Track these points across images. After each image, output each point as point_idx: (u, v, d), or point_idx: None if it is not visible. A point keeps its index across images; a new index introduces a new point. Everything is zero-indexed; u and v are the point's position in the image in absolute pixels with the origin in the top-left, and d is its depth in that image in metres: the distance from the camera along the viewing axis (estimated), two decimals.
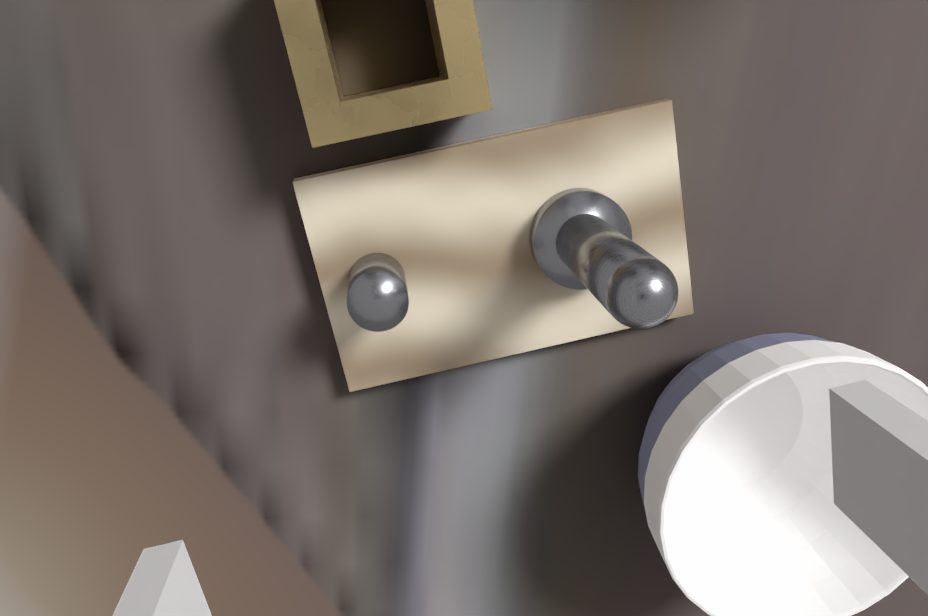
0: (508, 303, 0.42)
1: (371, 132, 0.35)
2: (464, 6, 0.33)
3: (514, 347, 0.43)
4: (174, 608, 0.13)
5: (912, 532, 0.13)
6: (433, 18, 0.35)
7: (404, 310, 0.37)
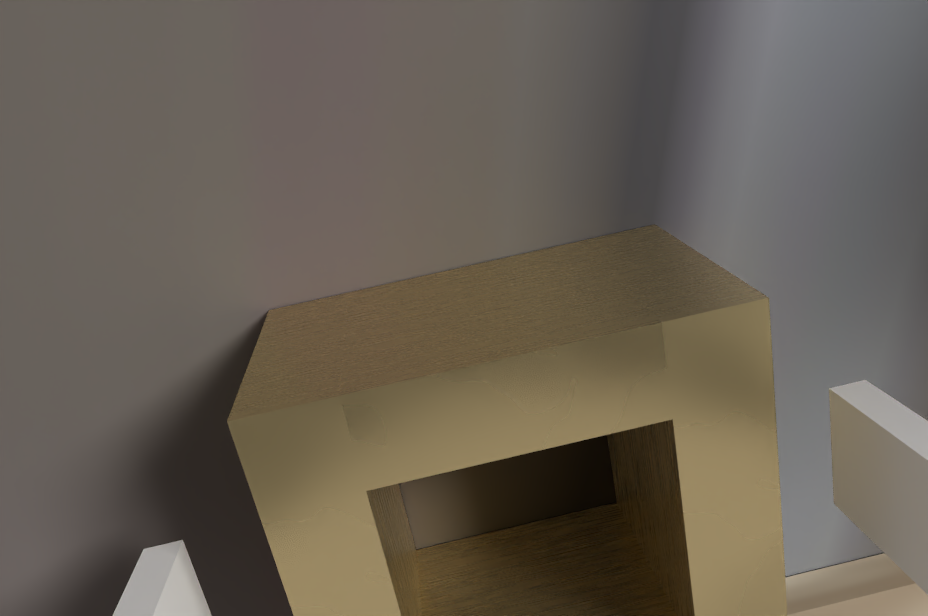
0: None
1: None
2: (756, 510, 0.13)
3: None
4: (174, 608, 0.13)
5: (912, 532, 0.13)
6: (649, 480, 0.15)
7: None
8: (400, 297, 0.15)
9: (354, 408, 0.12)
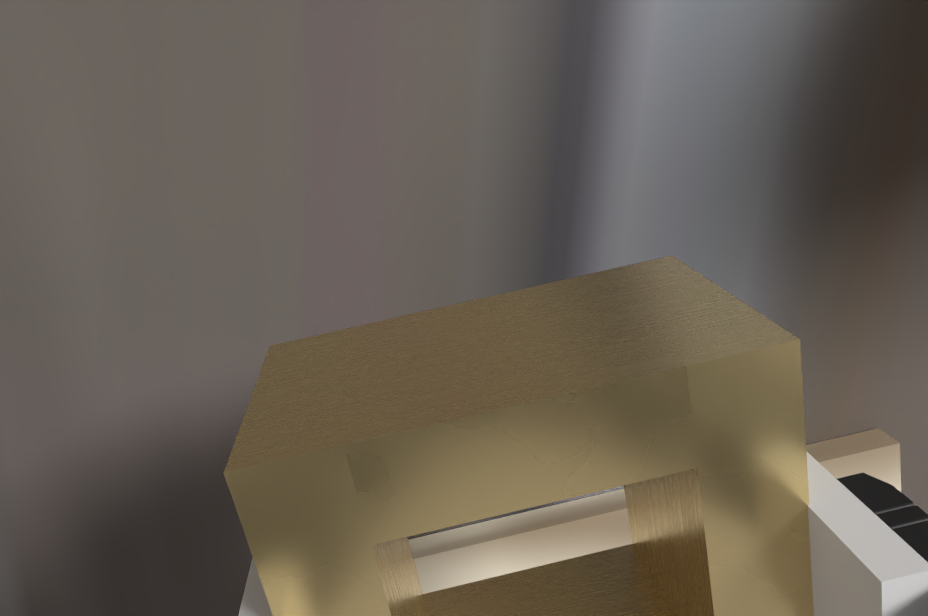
0: None
1: None
2: (786, 563, 0.12)
3: None
4: None
5: None
6: (669, 526, 0.14)
7: None
8: (407, 333, 0.14)
9: (359, 458, 0.11)
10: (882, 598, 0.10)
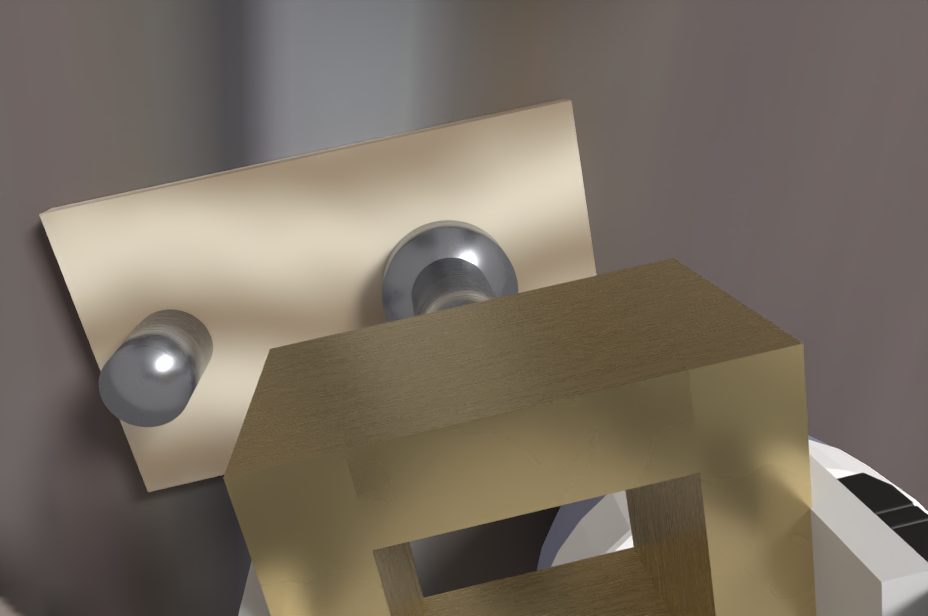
0: None
1: None
2: (789, 568, 0.12)
3: None
4: None
5: None
6: (671, 530, 0.14)
7: (184, 397, 0.26)
8: (407, 337, 0.14)
9: (359, 463, 0.11)
10: (882, 598, 0.10)
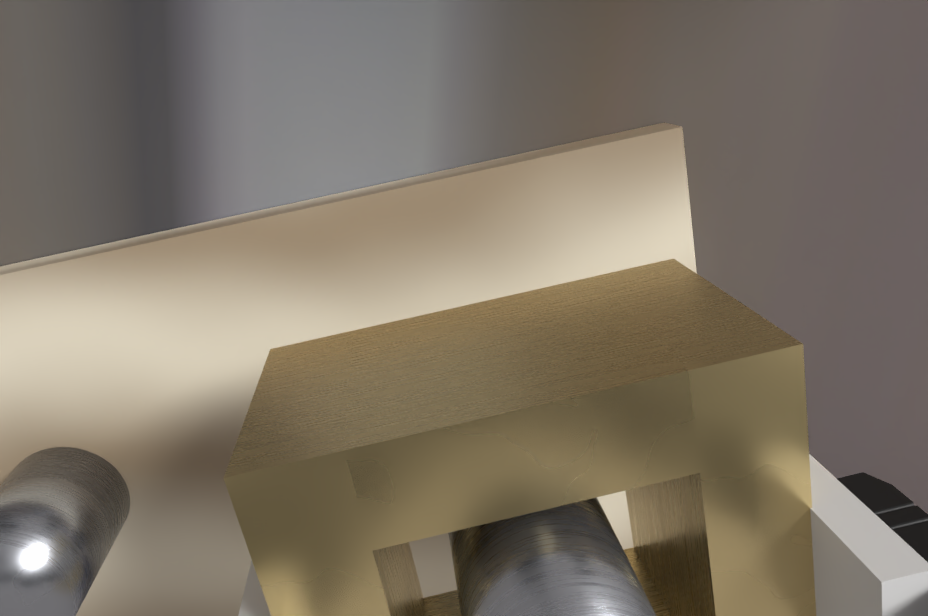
0: None
1: None
2: (788, 569, 0.12)
3: None
4: None
5: None
6: (671, 531, 0.14)
7: None
8: (408, 337, 0.14)
9: (360, 463, 0.11)
10: (882, 598, 0.10)
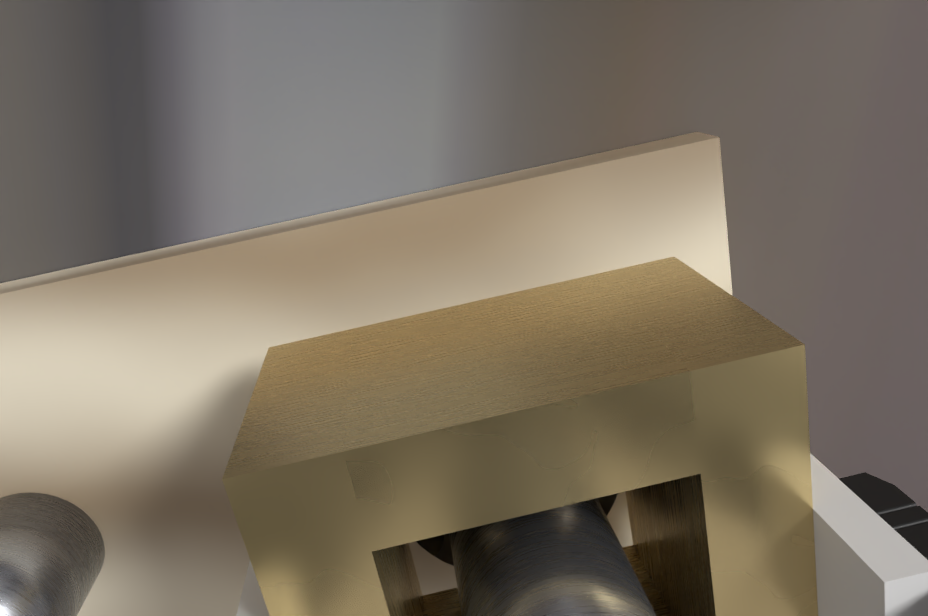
0: None
1: None
2: (789, 569, 0.12)
3: None
4: None
5: None
6: (671, 530, 0.14)
7: None
8: (407, 336, 0.14)
9: (359, 464, 0.11)
10: (885, 599, 0.10)
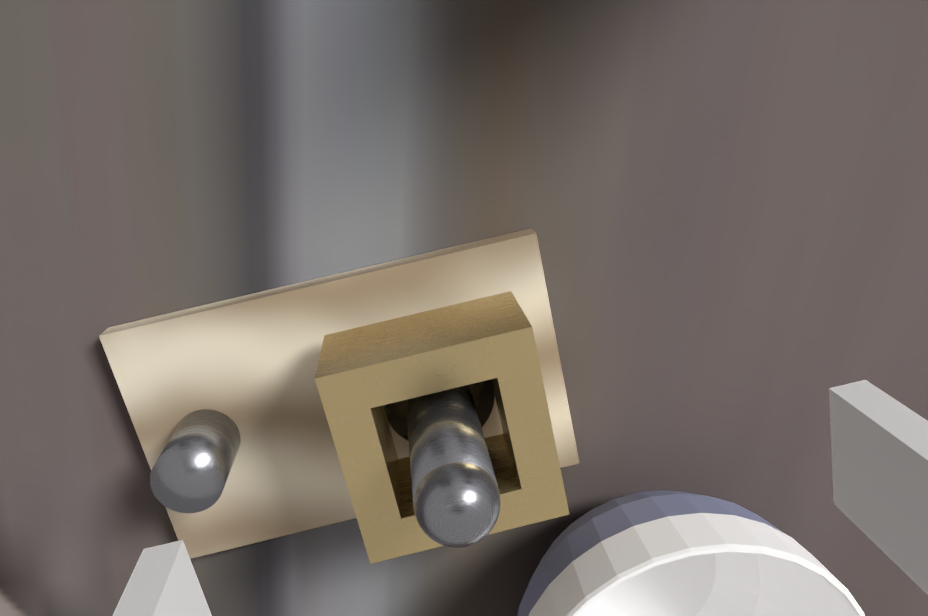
0: None
1: (435, 545, 0.31)
2: (539, 418, 0.30)
3: None
4: (174, 608, 0.13)
5: (912, 532, 0.13)
6: (502, 411, 0.32)
7: (219, 489, 0.32)
8: (386, 328, 0.32)
9: (365, 373, 0.29)
10: None
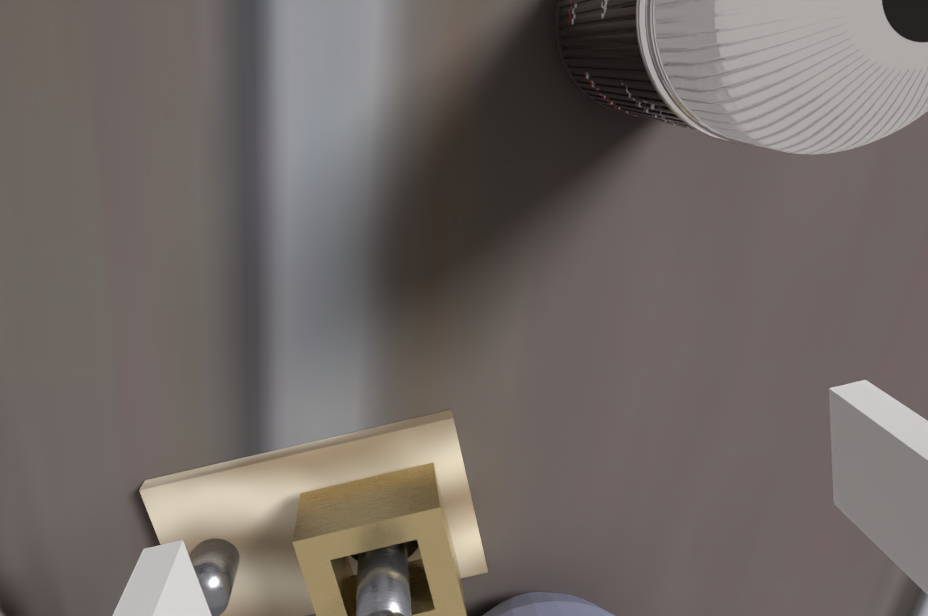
0: None
1: None
2: (446, 564, 0.44)
3: None
4: (174, 608, 0.13)
5: (912, 533, 0.13)
6: None
7: (225, 604, 0.46)
8: (344, 492, 0.46)
9: (326, 538, 0.42)
10: None
